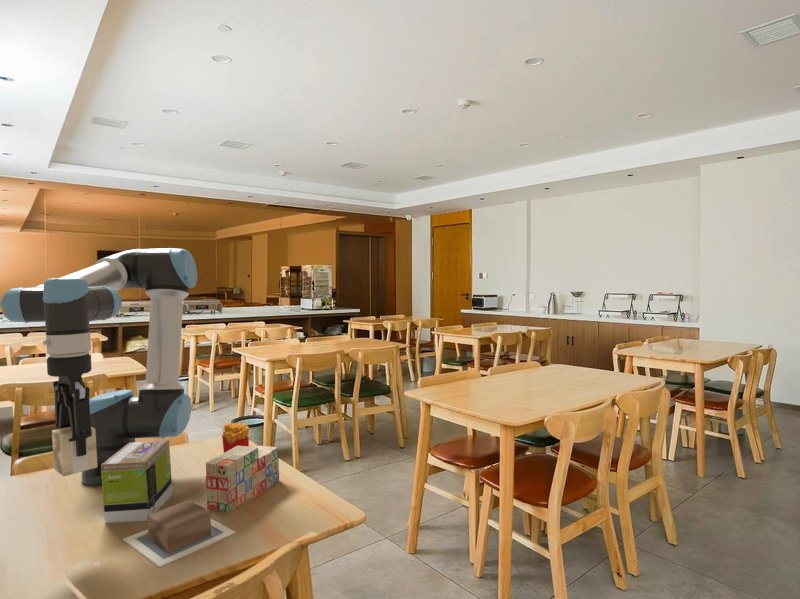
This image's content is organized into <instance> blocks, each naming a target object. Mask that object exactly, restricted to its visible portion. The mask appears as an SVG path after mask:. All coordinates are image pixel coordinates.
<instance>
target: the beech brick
mask: <svg viewBox="0 0 800 599" xmlns="http://www.w3.org/2000/svg"><path fill="white" fill-rule="evenodd" d="M91 432H92V436H90V437H88V438H87V443H88V463H89V469H93V468H97V450H96V432H95V428H93V427H91ZM71 438H72V431H71V427H66V428H62V429H58V428H56V429H53V430H51V440H52V458H53V459H52V460H53V469H54V471H55V472H56V473H58V474H60V475H61V476H62V477H68V476H70V475H75V474H78V473H82V471H81V472H77V473H72V457H71V442H69V440H68V439H71ZM89 469H88V470H89ZM85 471H86V470H85Z"/></svg>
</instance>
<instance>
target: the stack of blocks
mask: <svg viewBox="0 0 800 599" xmlns="http://www.w3.org/2000/svg"><path fill="white" fill-rule="evenodd" d="M279 462H280V461H279V449H278V447H276V446H265V445H257V446H249V447H247V446H236V447H234V448H232V449H231V450H229V451H227V452H225V453H224V452H223V453H221V454H219V455H218V456H216V457H214V458H212V459H210V460H208V461H207V462H205V474H206V475H205V487H206V498H207V499H206V502H207V503H206V505H207V506H206V507H207V508H206V509H207V510H208V509H209V510H214V511H222V512H227V513H231V511H233V510H234V509H236V508H237V507H239V506H240V505H241V504H243V503H245V502H247V501H248V500H250V499H252V500H254V499H255V498H256V497H259V495H261V494H262V493H264V492H265V491H266V490H268V489H269V488H271V487H272V486H274V485H275V484H276V483H278V482H279V481H280V463H279ZM273 484H274V485H273Z"/></svg>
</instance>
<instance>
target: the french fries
mask: <svg viewBox="0 0 800 599" xmlns="http://www.w3.org/2000/svg"><path fill="white" fill-rule="evenodd" d="M222 429H223V431H222V435H221V440H222V449H223V453H225V452H227V451H229V450H231V449H232V448H234V447H236V446H247V447H250V446H249V442H250V439H249V438H250V437H249V430H250V427H249V425H246V423H243V422H239V423H235V422H232V423H231V422H230V423H225V424H224V425H223V428H222Z"/></svg>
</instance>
